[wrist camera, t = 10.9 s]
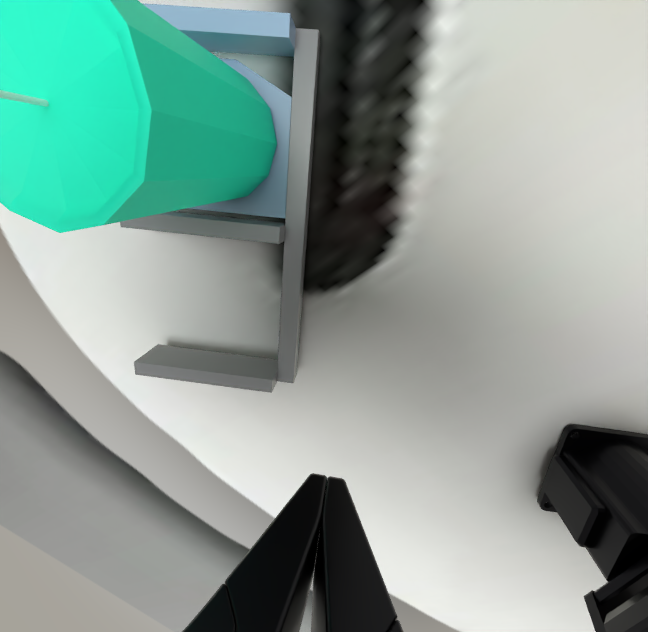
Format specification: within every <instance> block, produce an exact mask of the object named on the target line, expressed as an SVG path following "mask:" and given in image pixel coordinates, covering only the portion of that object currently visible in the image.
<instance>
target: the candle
mask: <svg viewBox="0 0 648 632" xmlns="http://www.w3.org/2000/svg"><path fill="white" fill-rule="evenodd" d="M276 146H277V140H276V135H275V130H274V125H273V120H272V115H271V110H270V107H269V106H268V105H267V103H266V102H265V101H264V100H263V98H262V97H261V96H260V94H259V93H258V92H257V91H256V89H255V88H254V87H253V85H252V84H251V83H250V81H249V80H248V79H247V78H245V77H244V76H243V75H241V74H240V73H238V72H237V71H236V70H234V69H233V68H231V67H230V66H229V65H227V64H226V63H224V62H223V61H222V60H220V59H219V58H217V57H216V56H215V55H213V54H212V53H210V52H209V51H208V50H206V49H205V48H203V47H202V46H201V45H199V44H198V43H196V42H195V41H194V40H192V39H191V38H189V37H188V36H187V35H185V34H184V33H182V32H181V31H180V30H178V29H177V28H175V27H174V26H173V25H171V24H170V23H168V22H167V21H166V20H164V19H163V18H161V17H160V16H159V15H157V14H156V13H154V12H153V11H152V10H150V9H149V8H147V7H146V6H145V5H143V4H142V3H140V2H139V1H138V0H0V202H1V203H2V204H3V205H4V206H5V207H6V208H7V209H9V210H10V211H12V212H14V213H16V214H19V215H21V216H23V217H25V218H28V219H30V220H32V221H34V222H36V223H39V224H41V225H43V226H45V227H48V228H50V229H52V230H54V231H57V232H59V233H62V232H68V231H73V230H79V229H84V228H90V227H95V226H101V225H106V224H111V223H116V222H121V221H126V220H131V219H136V218H141V217H146V216H151V215H156V214H161V213H166V212H171V211H176V210H181V209H186V208H191V207H196V206H201V205H206V204H211V203H216V202H221V201H226V200H231V199H236V198H241V197H246V196H248V195H249V194H250V193H251V192H252V191H253V190H254V189H255V188H256V187H257V186H258V185H259V184H260V183H262V182H263V181H264V180H265V179H266V178H267V177H268V176H269V172H270V168H271V165H272V161H273V157H274V154H275V150H276Z"/></svg>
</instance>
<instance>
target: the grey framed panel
mask: <svg viewBox="0 0 648 632" xmlns="http://www.w3.org/2000/svg"><path fill="white" fill-rule="evenodd" d="M143 5H145V6H146V7H147V8H149V9H150V10H152V11H153V12H154V13H156V14H157V15H159V16H160V17H161V18H163V19H164V20H166V21H167V22H168V23H170V24H171V25H173V26H174V27H175V28H177V29H178V30H180V31H181V32H182V33H184V34H185V35H187V36H188V37H189V38H191V39H192V40H194V41H195V42H196V43H198V44H199V45H201V46H202V47H203V48H205V49H206V50H208V51H209V52H225V53H241V54H257V55H274V56H290V57H294V70H293V89H292V97H290V96H289V95H287V94H286V93H284V92H283V91H281V90H280V89H279V88H277V87H276V86H274V85H273V84H271V83H270V82H268V81H267V80H265V79H264V78H262V77H261V76H259V75H258V74H257V73H255V72H254V71H252V70H251V69H249V68H248V67H246V66H245V65H243V64H242V63H240V62H239V61H238V60H235V59H221V58H219V59H220V60H222V61H223V62H224V63H226V64H227V65H229V66H230V67H231V68H233V69H234V70H236V71H237V72H238V73H240V74H241V75H243V76H244V77H245V78H247V79H248V80H249V81H250V83H251V84H252V85H253V87H254V88H255V89H256V91H257V92H258V93H259V94H260V96H261V97H262V98H263V100H264V101H265V102H266V103H267V105H268V106H269V107H270V110H271V115H272V120H273V125H274V130H275V135H276V140H277V146H276V150H275V154H274V157H273V161H272V165H271V168H270V172H269V176H268V177H267V178H266V179H265V180H264V181H263V182H262V183H260V184H259V185H258V186H257V187H256V188H255V189H254V190H253V191H252V192H251V193H250V194H249V195H248V196H246V197H241V198H236V199H231V200H226V201H221V202H216V203H211V204H206V205H201V206H196V207H191V208H188V209H198V210H208V211H217V212H227V213H237V214H247V215H256V216H266V217H276V218H286V219H285V223H282V222H273V221H263V220H253V219H244V218H234V217H224V216H215V215H205V214H195V213H186V212H176V211H171V212H166V213H161V214H156V215H151V216H146V217H141V218H136V219H131V220H126V221H121V222H120V223H121V227H126V228H135V229H144V230H154V231H163V232H172V233H182V234H191V235H200V236H210V237H219V238H228V239H238V240H247V241H256V242H265V243H275V244H280V243H281V242H283V241H284V257H283V275H282V294H281V313H280V331H279V350H278V360H276V359H268V358H261V357H253V356H245V355H237V354H229V353H221V352H214V351H206V350H198V349H190V348H182V347H174V346H167V345H159V344H158V345H157V346H155V347H154V348H152V349H151V350H150V351H148V352H147V353H146V354H144V355H143V356H142V357H140V358H139V359H137V360H136V361H135V362H134V366H135V374H136V375H144V376H151V377H159V378H166V379H174V380H181V381H189V382H196V383H204V384H211V385H219V386H226V387H234V388H241V389H249V390H256V391H264V392H271V393H272V391H273V389H274V386H275V384H276V382H277V381H280V382H288V383H294V380H295V377H296V374H297V363H298V350H299V336H300V323H301V310H302V296H303V283H304V269H305V256H306V242H307V229H308V216H309V202H310V186H311V171H312V156H313V141H314V125H315V110H316V95H317V80H318V65H319V49H320V33H319V30H314V29H299V28H295V25H294V22H293V20H292V17H291V14H290V13H277V12H262V11H247V10H232V9H217V8H202V7H187V6H172V5H157V4H143ZM291 100H292V107H291ZM290 124H291V126H290Z"/></svg>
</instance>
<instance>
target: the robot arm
mask: <svg viewBox="0 0 648 632" xmlns="http://www.w3.org/2000/svg"><path fill="white" fill-rule="evenodd" d="M574 432H576V433H575V434H574V435H572V434H573V433H574ZM326 484H327V485H326ZM325 491H326V492H325ZM537 502H538V504H539V506H540V507H541V509H543V510H545V511H551V512H558V514H559V516H560V517H561V519H562V520H563V522H564V523H565V525H566V527H567V528H568V530H569V531H570V533H571V535H572V536H573V538H574V539H575V541H576V542H577V543H578V545H579V546H581V547H586V549H587V550H588V552H589V554H590V555H591V557H592V558H593V560H594V561H595V563H596V564H597V566H598V568H599V569H600V571H601V572H602V574H603V575H604V577H605V578H606V580H607V581H608V582H607V583H606V584H605V585H603V586H602V587H600V588H599V589H598V590H596V591H591V592H589V593H588V594H586V595H585V596H584V599H585V602H586V605H587V608H588V611H589V613H590V616H591V619H592V622H593V625H594V628H595V631H596V632H648V435H647V434H641V433H634V432H626V431H619V430H611V429H604V428H596V427H588V426H581V425H569V426H567V427H566V428H565V429H564V431H563V433H562V436H561V439H560V441H559V444H558V446H557V449H556V452H555V454H554V457H553V458H552V461H551V463H550V466H549V468H548V471H547V474H546V476H545V479H544V481H543V484H542V488H541V491H540V493H539V496H538V499H537ZM546 502H547V503H546ZM317 547H318V548H317ZM316 553H317V555H316ZM315 560H316V562H315ZM314 567H315V569H314ZM313 573H314V579H313V596H312V623H311V632H403V630H402V627H401V624H400V622H399V621H398V620H397V614H396V612H395V609H394V607H393V604H392V601H391V599H390V596H389V594H388V591H387V589H386V586H385V583H384V581H383V578H382V576H381V573H380V570H379V568H378V565H377V563H376V560H375V557H374V555H373V552H372V550H371V547H370V544H369V542H368V539H367V537H366V534H365V532H364V529H363V526H362V524H361V521H360V519H359V516H358V513H357V511H356V508H355V506H354V503H353V500H352V498H351V495H350V493H349V490H348V488H347V485H346V482H345V480H344V479H342V478H336V477H328V479H327V477H326V476H325V475H319V474H314V473H313V474H310V475H309V477H308V478H307V479H306V480H305V482H304V483H303V484H302V485H301V487H300V488H299V489H298V490H297V492H296V493H295V494H294V495H293V497H292V498H291V499H290V500H289V502H288V503H287V504H286V505H285V507H284V508H283V509H282V510H281V512H280V513H279V514H278V515H277V517H276V518H275V519H274V520H273V522H272V523H271V524H270V525H269V527H268V528H267V529H266V531H265V532H264V533H263V534H262V535H261V537H260V538H259V539H258V540H257V542H256V543H255V544H254V546H253V547H252V548H251V549H250V550H249V552H248V553H247V554H246V555H245V557H244V558H243V559H242V560H241V562H240V563H239V564H238V565H237V567H236V568H235V569H234V570H233V572H232V573H231V574H230V575H229V577H228V578H227V579H226V581H225V584H222V585H221V586H220V588H219V589H218V590H217V591H216V593H215V594H214V595H213V596H212V598H211V599H210V600H209V601H208V603H207V604H206V605H205V606H204V607H203V608H202V610H201V611H200V612H199V613H198V614H197V616H196V617H195V618H194V619H193V620H192V621H191V623H190V624H189V625H188V626H187V627H186V628H185V629H184V630H183V631H182V632H299V630H300V626H301V622H302V619H303V615H304V611H305V607H306V603H307V599H308V595H309V591H310V587H311V583H312V578H313Z"/></svg>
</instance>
